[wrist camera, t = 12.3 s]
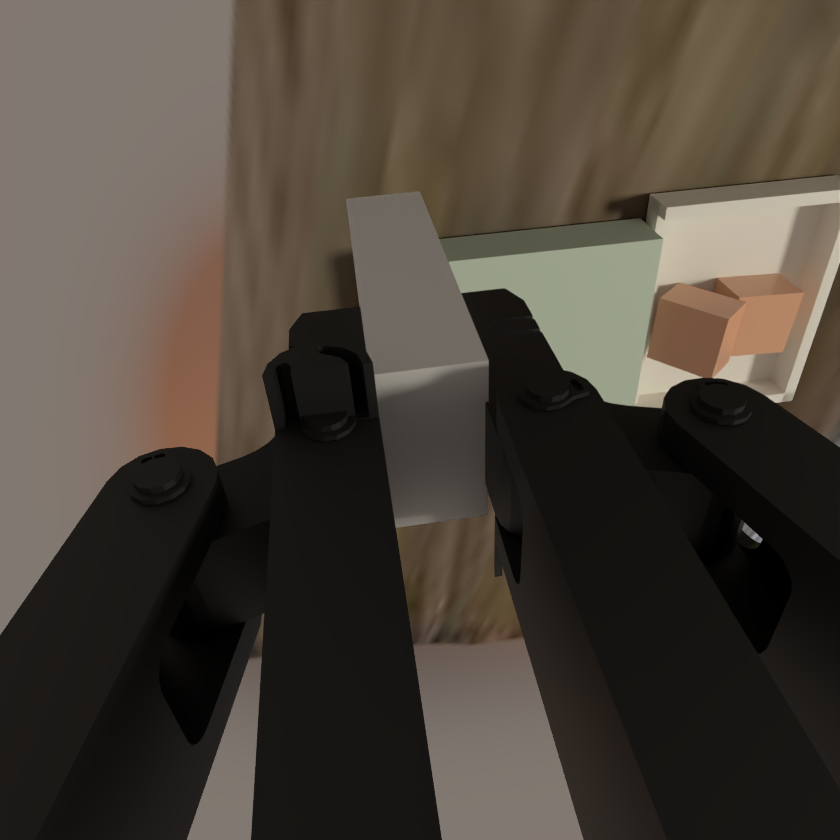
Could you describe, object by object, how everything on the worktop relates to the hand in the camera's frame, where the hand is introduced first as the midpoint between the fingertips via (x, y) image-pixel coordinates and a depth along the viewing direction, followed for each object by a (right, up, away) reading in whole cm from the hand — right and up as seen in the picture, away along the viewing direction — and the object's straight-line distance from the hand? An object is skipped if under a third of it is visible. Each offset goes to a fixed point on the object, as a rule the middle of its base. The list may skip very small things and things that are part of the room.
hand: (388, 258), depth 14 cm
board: (+7, +3, +32) cm, 33 cm away
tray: (+22, +5, +33) cm, 40 cm away
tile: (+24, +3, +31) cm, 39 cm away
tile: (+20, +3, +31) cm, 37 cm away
